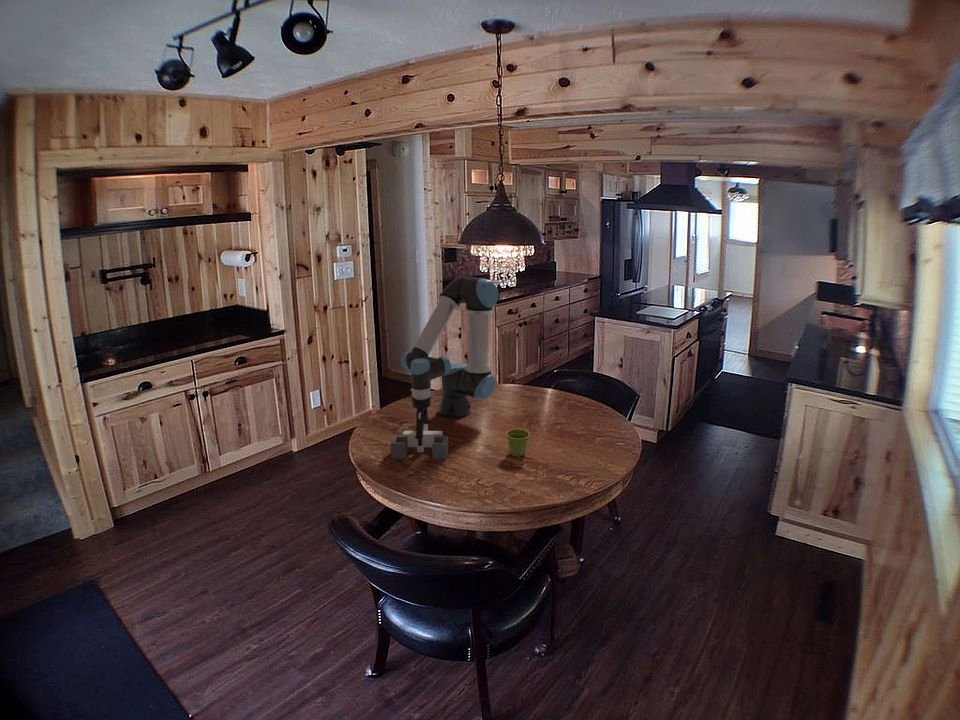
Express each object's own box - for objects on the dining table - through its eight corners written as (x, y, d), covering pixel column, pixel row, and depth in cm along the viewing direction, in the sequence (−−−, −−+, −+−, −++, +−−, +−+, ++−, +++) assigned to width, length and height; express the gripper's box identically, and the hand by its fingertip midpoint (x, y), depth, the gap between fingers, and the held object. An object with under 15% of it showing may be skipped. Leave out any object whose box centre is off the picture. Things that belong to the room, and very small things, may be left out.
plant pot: (529, 448, 244) (529, 429, 241) (529, 459, 235) (529, 439, 232) (506, 447, 244) (506, 428, 242) (505, 458, 235) (506, 438, 233)
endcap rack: (448, 450, 242) (448, 436, 240) (446, 459, 235) (446, 444, 233) (394, 449, 243) (394, 435, 241) (391, 458, 236) (390, 443, 234)
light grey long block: (442, 444, 248) (442, 430, 247) (441, 447, 245) (441, 434, 243) (404, 443, 249) (404, 430, 247) (403, 447, 246) (402, 434, 244)
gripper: (416, 386, 252) (418, 432, 259) (407, 407, 229) (409, 458, 235) (434, 386, 252) (435, 432, 258) (426, 408, 229) (428, 458, 235)
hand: (422, 445), depth 247 cm, fingers open, 12 cm apart
